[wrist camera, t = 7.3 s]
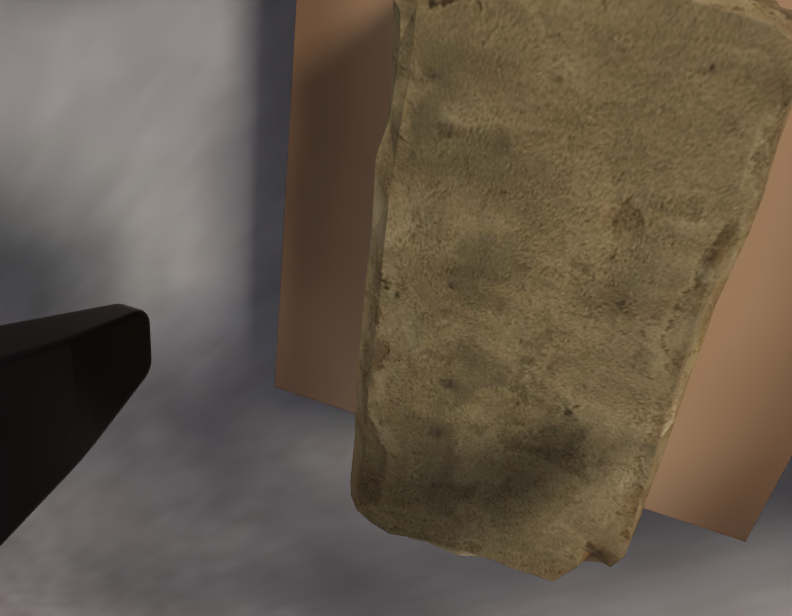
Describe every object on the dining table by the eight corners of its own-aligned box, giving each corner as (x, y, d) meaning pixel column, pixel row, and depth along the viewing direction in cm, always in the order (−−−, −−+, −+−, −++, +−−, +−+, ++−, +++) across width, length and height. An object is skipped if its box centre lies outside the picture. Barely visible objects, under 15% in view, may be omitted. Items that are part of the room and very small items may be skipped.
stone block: (409, 410, 18) (335, 539, 14) (462, -71, 13) (371, -96, 9) (627, 470, 17) (618, 633, 13) (786, -45, 12) (861, -60, 7)
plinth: (963, -42, 14) (1061, -47, 11) (730, 445, 20) (745, 541, 17) (375, -120, 17) (304, -144, 14) (330, 326, 23) (274, 387, 20)
